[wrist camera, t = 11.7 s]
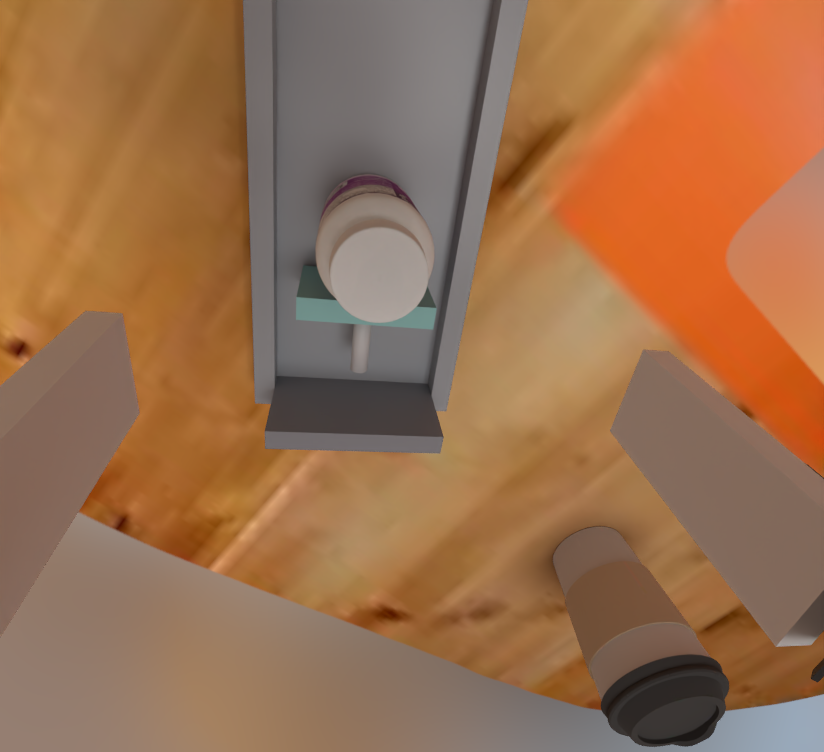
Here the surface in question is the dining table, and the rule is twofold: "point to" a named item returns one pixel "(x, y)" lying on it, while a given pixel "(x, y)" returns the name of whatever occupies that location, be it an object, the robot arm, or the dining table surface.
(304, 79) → the lane
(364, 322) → the pusher
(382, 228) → the pill bottle
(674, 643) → the coffee cup
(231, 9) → the dining table surface
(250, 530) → the dining table surface
